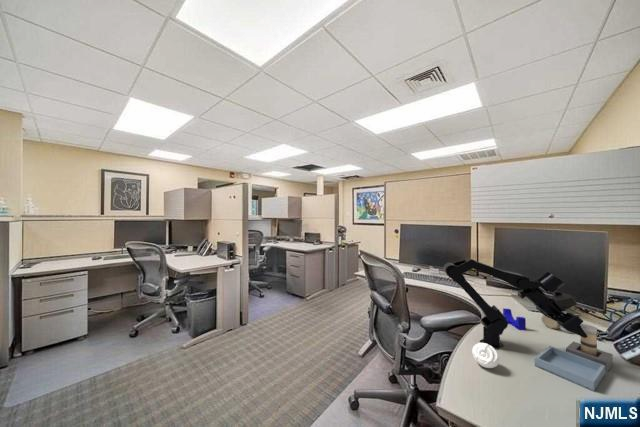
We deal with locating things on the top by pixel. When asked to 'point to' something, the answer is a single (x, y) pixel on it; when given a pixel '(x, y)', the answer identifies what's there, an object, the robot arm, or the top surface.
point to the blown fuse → (589, 340)
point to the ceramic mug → (552, 323)
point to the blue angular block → (519, 322)
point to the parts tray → (571, 367)
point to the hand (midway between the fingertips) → (577, 331)
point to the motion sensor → (485, 355)
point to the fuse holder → (601, 357)
